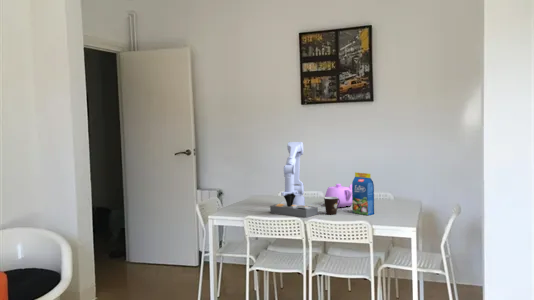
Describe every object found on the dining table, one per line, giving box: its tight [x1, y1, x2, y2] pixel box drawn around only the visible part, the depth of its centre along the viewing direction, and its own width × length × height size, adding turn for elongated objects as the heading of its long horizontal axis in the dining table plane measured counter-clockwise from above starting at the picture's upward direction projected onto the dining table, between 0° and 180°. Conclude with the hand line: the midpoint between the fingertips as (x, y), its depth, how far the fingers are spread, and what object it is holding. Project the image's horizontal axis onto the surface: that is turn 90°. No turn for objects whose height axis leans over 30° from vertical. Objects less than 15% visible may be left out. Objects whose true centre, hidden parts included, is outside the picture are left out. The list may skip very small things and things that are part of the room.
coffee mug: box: [323, 196, 340, 216], centre depth 292 cm, size 12×9×10 cm
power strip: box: [269, 203, 319, 219], centre depth 296 cm, size 12×28×4 cm, turn 50°
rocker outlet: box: [297, 205, 313, 209], centre depth 290 cm, size 9×6×1 cm, turn 140°
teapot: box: [324, 183, 352, 209], centre depth 318 cm, size 23×21×15 cm
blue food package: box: [351, 171, 375, 216], centre depth 290 cm, size 6×12×25 cm, turn 39°
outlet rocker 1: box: [275, 200, 287, 207], centre depth 302 cm, size 9×6×1 cm, turn 140°
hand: (289, 206), depth 293 cm, fingers closed, pressing on outlet rocker 2
